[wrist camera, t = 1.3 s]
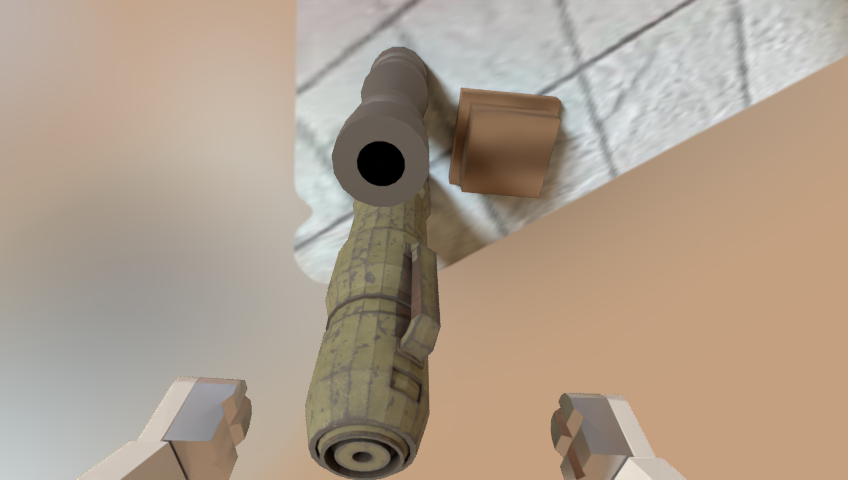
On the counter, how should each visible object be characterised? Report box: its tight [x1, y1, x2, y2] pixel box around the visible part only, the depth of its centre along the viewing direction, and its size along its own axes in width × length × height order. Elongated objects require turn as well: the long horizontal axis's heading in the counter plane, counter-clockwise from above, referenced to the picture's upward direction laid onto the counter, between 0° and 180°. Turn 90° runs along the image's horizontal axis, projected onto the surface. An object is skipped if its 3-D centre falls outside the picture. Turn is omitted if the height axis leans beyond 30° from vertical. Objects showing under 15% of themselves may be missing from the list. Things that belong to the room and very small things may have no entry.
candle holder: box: [332, 47, 429, 207], centre depth 33 cm, size 6×6×25 cm
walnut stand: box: [449, 88, 561, 198], centre depth 45 cm, size 11×11×6 cm
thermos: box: [305, 178, 441, 480], centre depth 36 cm, size 9×12×35 cm
